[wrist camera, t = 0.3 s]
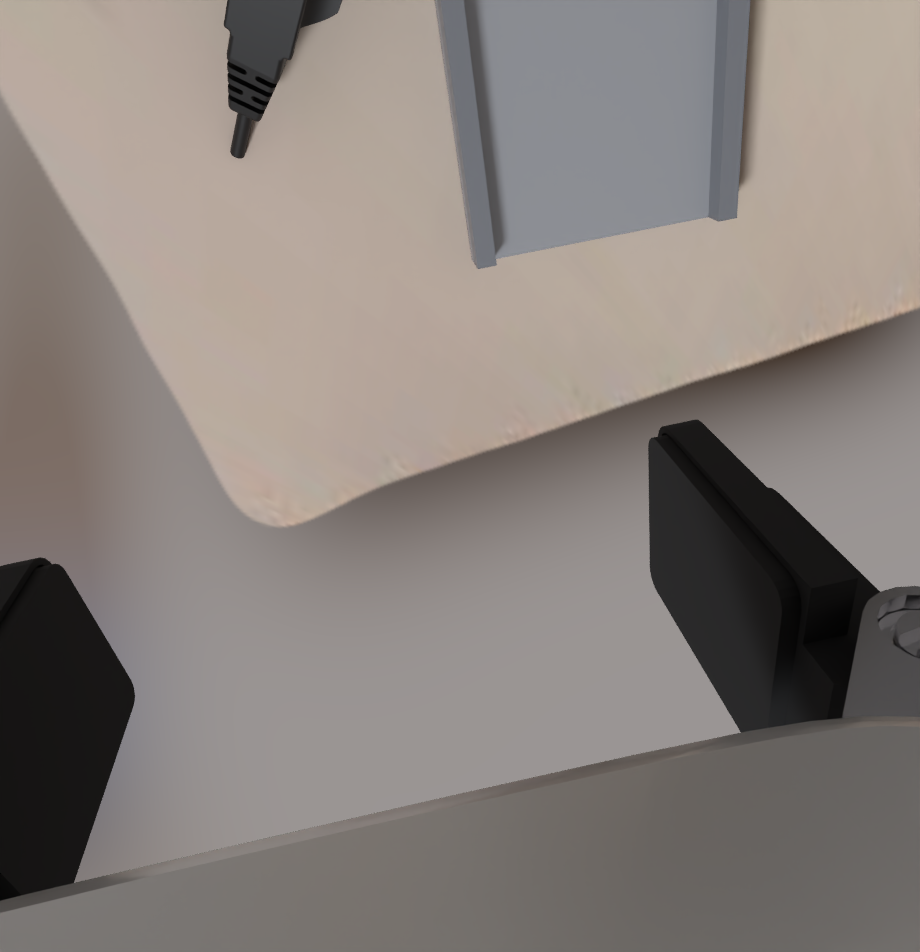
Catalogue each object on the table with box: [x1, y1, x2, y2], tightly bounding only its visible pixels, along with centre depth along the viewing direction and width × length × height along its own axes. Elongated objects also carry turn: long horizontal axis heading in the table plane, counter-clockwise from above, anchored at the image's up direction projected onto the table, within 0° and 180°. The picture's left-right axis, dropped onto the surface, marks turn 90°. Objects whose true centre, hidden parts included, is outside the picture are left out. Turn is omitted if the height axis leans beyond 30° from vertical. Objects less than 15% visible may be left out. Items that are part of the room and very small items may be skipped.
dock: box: [435, 0, 750, 269], centre depth 31 cm, size 19×14×2 cm
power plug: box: [224, 0, 342, 158], centre depth 29 cm, size 6×8×12 cm
